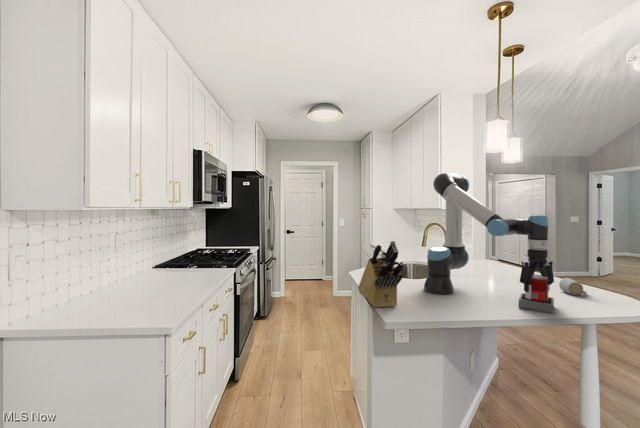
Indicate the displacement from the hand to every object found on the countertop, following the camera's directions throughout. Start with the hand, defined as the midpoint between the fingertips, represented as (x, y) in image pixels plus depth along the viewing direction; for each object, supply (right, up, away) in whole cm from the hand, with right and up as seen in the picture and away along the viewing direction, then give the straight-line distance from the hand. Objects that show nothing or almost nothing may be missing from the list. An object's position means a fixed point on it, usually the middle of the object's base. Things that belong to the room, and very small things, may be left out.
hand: (536, 298), depth 141 cm
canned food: (0, -1, 0) cm, 1 cm away
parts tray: (0, -4, 0) cm, 4 cm away
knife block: (-71, -4, +8) cm, 71 cm away
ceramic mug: (+35, -4, +22) cm, 42 cm away
